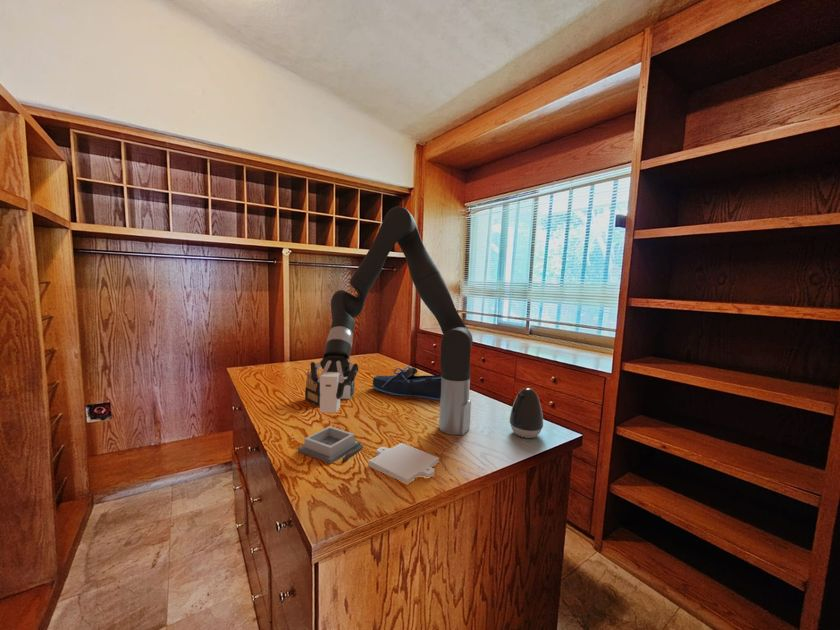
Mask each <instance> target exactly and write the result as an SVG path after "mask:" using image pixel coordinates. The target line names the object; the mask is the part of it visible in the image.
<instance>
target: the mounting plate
mask: <svg viewBox="0 0 840 630" xmlns="http://www.w3.org/2000/svg"><path fill="white" fill-rule="evenodd" d="M439 462H440V458H439V457H438V456H435V455H433V454H431V453H428V452H425V451H423V450H421V449H418V448H416V447H413V446H411V445H409V444H406V443H404V442H400V443H398V444H396V445H394V446H393V447H386V446H380V447H379V448H377V449H376V456H374V457H372V458H370V459H368V467H369V468H372V469H374V470H375V471H377V470H378V472H379V471H380V473H381V472H382V474H383V473H384V475H385V474H387V475H389V476H391V477H393V478H395V479H398V480H400V481H402V482H405V483H407V484H408V483H409V482H410V481H412V480H413V479H415V478H416V477H418V476H425V477H431V476H433V475H434V476H435V468H434V467H433V468H432V466H434V465H435V464H437V463H439ZM439 464H440V463H439ZM437 465H438V464H437ZM387 475H386V476H387ZM389 476H388V477H389ZM391 477H390V478H391ZM393 478H392V479H393ZM395 479H394V480H395Z"/></svg>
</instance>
